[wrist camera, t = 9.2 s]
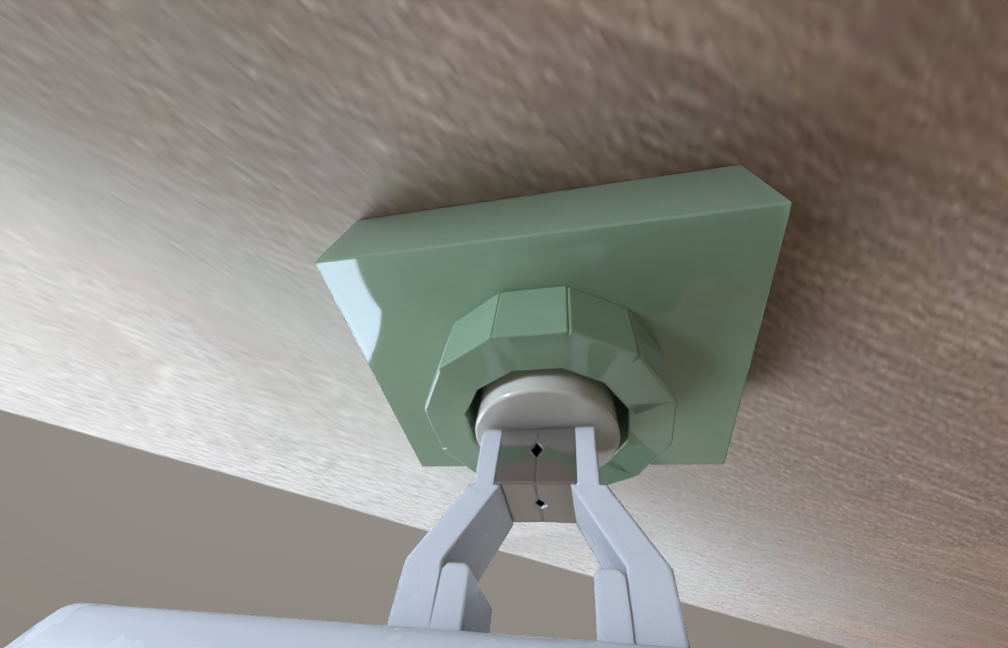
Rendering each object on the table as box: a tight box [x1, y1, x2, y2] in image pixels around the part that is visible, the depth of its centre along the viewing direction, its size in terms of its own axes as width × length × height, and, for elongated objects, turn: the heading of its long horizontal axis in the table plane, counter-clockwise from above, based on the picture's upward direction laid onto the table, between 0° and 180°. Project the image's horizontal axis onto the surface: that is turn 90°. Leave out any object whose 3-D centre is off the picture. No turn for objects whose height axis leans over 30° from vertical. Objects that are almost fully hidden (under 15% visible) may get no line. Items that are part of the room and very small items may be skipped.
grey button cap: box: [475, 368, 621, 468], centre depth 11 cm, size 4×4×2 cm
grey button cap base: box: [315, 165, 792, 485], centre depth 13 cm, size 12×10×5 cm
